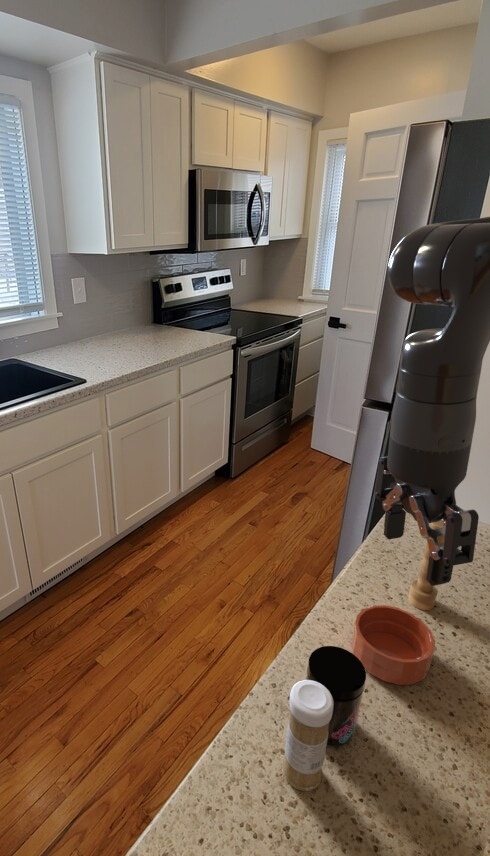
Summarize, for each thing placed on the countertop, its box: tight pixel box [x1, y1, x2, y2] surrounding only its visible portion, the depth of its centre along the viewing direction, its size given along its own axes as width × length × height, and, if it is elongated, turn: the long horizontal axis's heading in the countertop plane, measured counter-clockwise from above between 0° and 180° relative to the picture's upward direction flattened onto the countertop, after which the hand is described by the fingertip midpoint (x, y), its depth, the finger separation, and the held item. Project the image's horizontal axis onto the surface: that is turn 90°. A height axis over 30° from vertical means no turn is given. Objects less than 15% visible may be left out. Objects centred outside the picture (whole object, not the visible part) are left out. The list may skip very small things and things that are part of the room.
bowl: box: [350, 604, 436, 686], centre depth 72 cm, size 11×11×5 cm
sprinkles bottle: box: [282, 679, 334, 792], centre depth 55 cm, size 5×5×13 cm
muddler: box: [407, 519, 444, 611], centre depth 80 cm, size 4×4×16 cm
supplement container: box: [306, 645, 367, 748], centre depth 61 cm, size 7×7×10 cm
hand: (413, 558), depth 57 cm, fingers open, 8 cm apart
